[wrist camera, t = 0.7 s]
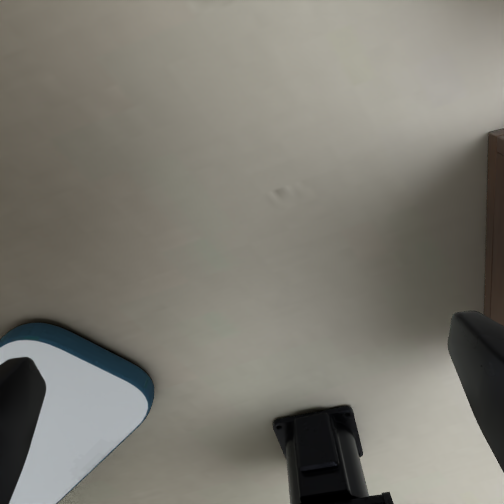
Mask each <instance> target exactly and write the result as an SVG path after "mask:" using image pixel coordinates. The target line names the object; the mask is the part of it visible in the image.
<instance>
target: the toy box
mask: <svg viewBox="0 0 504 504" xmlns="http://www.w3.org/2000/svg"><path fill="white" fill-rule="evenodd" d="M484 315H485V316H487V317H489V318H490V319H492V320H494V321H496V322H498V323H499V324H501V325H503V326H504V129H500V130H496V131H493V132H489V134H488V174H487V213H486V253H485V293H484Z"/></svg>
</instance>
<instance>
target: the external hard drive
mask: <svg viewBox="0 0 504 504" xmlns="http://www.w3.org/2000/svg"><path fill="white" fill-rule="evenodd" d="M18 357H29V358H31V359H32V360H33V361H34V363H35V365H36V366H37V368H38V370H39V371H40V373H41V375H42V377H43V378H44V380H45V382H46V394H45V398H44V401H43V405H42V408H41V412H40V415H39V418H38V422H37V425H36V429H35V432H34V435H33V439H32V442H31V446H30V449H29V452H28V455H27V458H26V462H25V464H24V467H23V470H22V472H21V475H20V478H19V480H18V483H17V485H16V488H15V490H14V493H13V495H12V498H11V500H10V503H9V504H57V503H58V502H59V501H60V500H61V499H62V498H64V497H65V496H66V495H67V494H68V493H69V492H70V491H71V490H72V489H73V488H74V487H75V486H76V485H77V484H78V483H79V482H80V481H81V480H83V479H84V478H85V477H86V476H87V475H88V474H89V473H90V472H91V471H92V470H93V469H94V468H95V467H96V466H97V465H98V464H99V463H100V462H102V461H103V460H104V459H105V458H106V457H107V456H108V455H109V454H110V453H111V452H112V451H113V450H114V449H115V448H116V447H117V446H118V445H120V444H121V443H122V442H123V441H124V440H125V439H126V438H127V437H128V436H129V435H130V434H131V433H132V432H133V431H134V430H135V429H136V428H137V427H138V426H139V425H140V424H141V423H142V422H143V421H144V420H145V418H146V417H147V415H148V413H149V411H150V409H151V406H152V403H153V399H154V385H153V382H152V380H151V378H150V377H149V376H148V375H147V373H146V372H144V371H143V370H142V369H141V368H139V367H138V366H136V365H134V364H133V363H131V362H129V361H127V360H125V359H123V358H121V357H119V356H117V355H115V354H113V353H111V352H109V351H107V350H105V349H103V348H101V347H99V346H97V345H96V344H94V343H92V342H90V341H88V340H86V339H84V338H82V337H80V336H78V335H76V334H74V333H72V332H70V331H68V330H65V329H63V328H61V327H58V326H54V325H51V324H46V323H28V324H24V325H21V326H18V327H16V328H14V329H13V330H11V331H9V332H8V333H7V334H6V335H5V336H3V337H2V338H1V339H0V365H1V364H2V363H3V362H5V361H6V360H8V359H11V358H18Z"/></svg>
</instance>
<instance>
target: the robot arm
mask: <svg viewBox="0 0 504 504" xmlns="http://www.w3.org/2000/svg"><path fill="white" fill-rule="evenodd" d="M448 350H449V354H450V356H451V359H452V361H453V364H454V366H455V369H456V371H457V374H458V376H459V379H460V381H461V384H462V386H463V389H464V391H465V394H466V396H467V399H468V401H469V404H470V406H471V409H472V411H473V413H474V416H475V418H476V420H477V423H478V425H479V427H480V429H481V431H482V433H483V435H484V437H485V438H486V440H487V442H488V444H489V446H490V448H491V450H492V452H493V453H494V455H495V457H496V459H497V461H498V463H499V465H500V467H501V468H502V470H503V472H504V326H503V325H501V324H499V323H498V322H496V321H494V320H492V319H490V318H489V317H487V316H485V315H483V314H481V313H479V312H477V311H463V312H456V313H454V314H453V316H452V319H451V325H450V331H449V337H448ZM45 394H46V382H45V380H44V378H43V377H42V375H41V373H40V371H39V370H38V368H37V366H36V365H35V363H34V361H33V360H32V359H31V358H29V357H18V358H11V359H8V360H6V361H5V362H3V363H2V364H1V365H0V504H9V503H10V500H11V498H12V495H13V493H14V490H15V488H16V485H17V483H18V480H19V478H20V475H21V472H22V470H23V467H24V464H25V462H26V458H27V455H28V452H29V449H30V446H31V442H32V439H33V435H34V432H35V429H36V425H37V422H38V418H39V415H40V412H41V408H42V405H43V401H44V398H45ZM273 429H274V431H275V434H276V436H277V438H278V441H279V443H280V446H281V448H282V450H283V453H284V455H285V457H286V460H287V470H288V481H289V493H290V504H393V501H392V498H391V495H390V492H385V493H382V494H381V495H374V496H369V494H368V490H367V486H366V482H365V478H364V474H363V470H362V466H361V462H360V458H359V457H361V456H362V455H363V451H362V447H361V442H360V438H359V434H358V430H357V426H356V422H355V418H354V413H353V410H352V408H351V407H348V406H346V407H340V408H335V409H330V410H324V411H319V412H314V413H308V414H303V415H298V416H292V417H287V418H282V419H277V420H275V421H274V422H273Z"/></svg>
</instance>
